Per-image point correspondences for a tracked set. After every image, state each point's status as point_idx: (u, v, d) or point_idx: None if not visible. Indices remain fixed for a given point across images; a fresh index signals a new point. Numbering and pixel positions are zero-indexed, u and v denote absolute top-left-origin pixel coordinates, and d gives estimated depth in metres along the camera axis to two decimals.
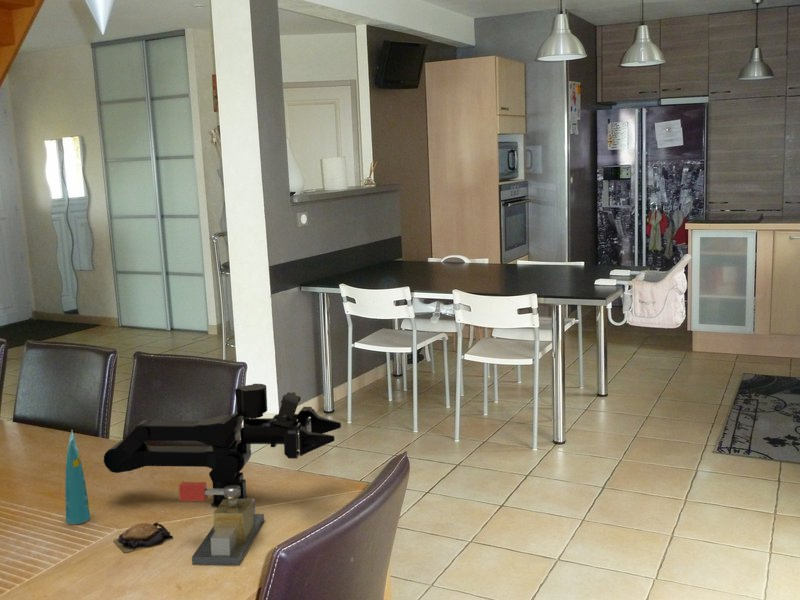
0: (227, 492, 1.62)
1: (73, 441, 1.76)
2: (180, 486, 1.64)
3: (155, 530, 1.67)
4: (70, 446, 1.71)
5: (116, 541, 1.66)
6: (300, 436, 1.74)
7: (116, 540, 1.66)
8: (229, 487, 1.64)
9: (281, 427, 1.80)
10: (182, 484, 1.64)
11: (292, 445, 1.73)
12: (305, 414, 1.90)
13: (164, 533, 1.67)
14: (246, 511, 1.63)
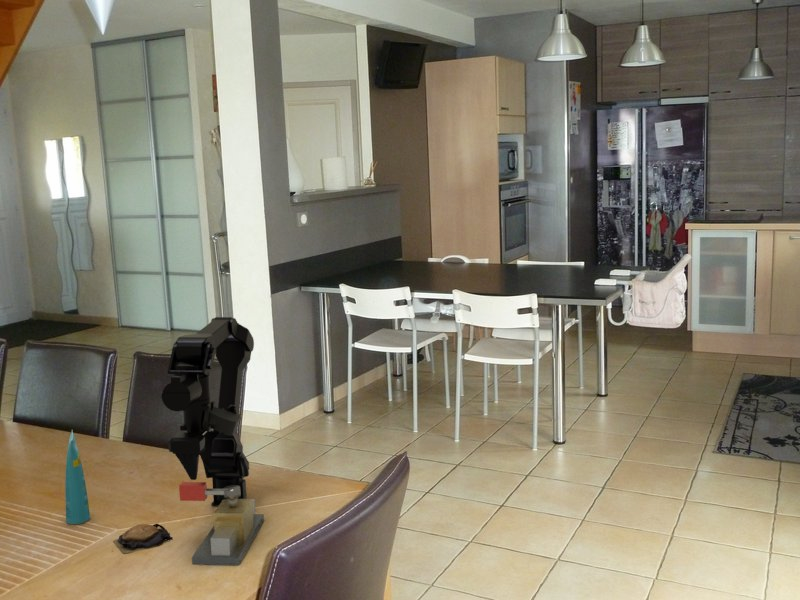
0: (227, 492, 1.62)
1: (73, 441, 1.76)
2: (180, 486, 1.64)
3: (155, 531, 1.66)
4: (70, 446, 1.71)
5: (116, 542, 1.66)
6: (194, 453, 1.59)
7: (116, 541, 1.66)
8: (229, 487, 1.64)
9: (201, 418, 1.64)
10: (182, 484, 1.64)
11: (183, 448, 1.58)
12: None
13: (164, 534, 1.66)
14: (246, 511, 1.63)
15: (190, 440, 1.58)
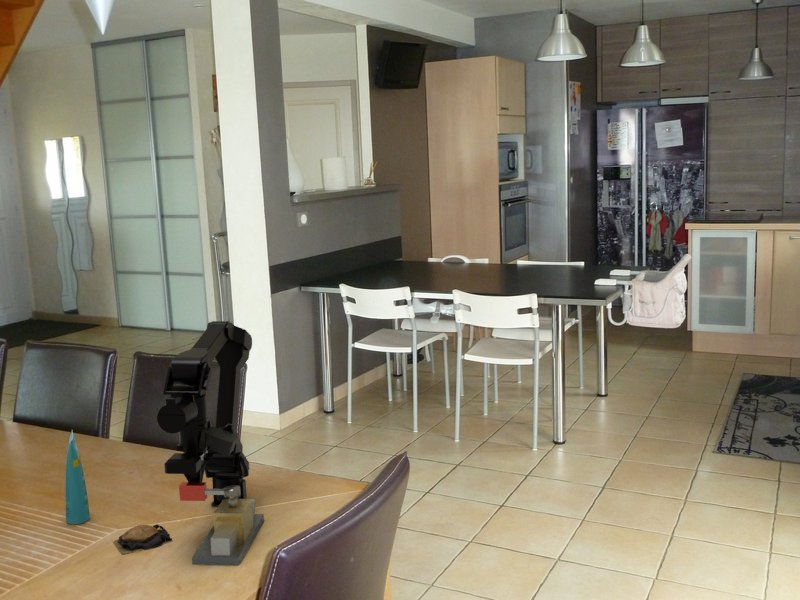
0: (227, 492, 1.62)
1: (73, 441, 1.76)
2: (180, 486, 1.64)
3: (154, 532, 1.66)
4: (70, 446, 1.71)
5: (116, 542, 1.66)
6: None
7: (116, 541, 1.66)
8: (229, 487, 1.64)
9: (198, 438, 1.63)
10: (182, 484, 1.64)
11: (179, 469, 1.57)
12: None
13: (163, 535, 1.66)
14: (246, 511, 1.63)
15: (186, 462, 1.57)
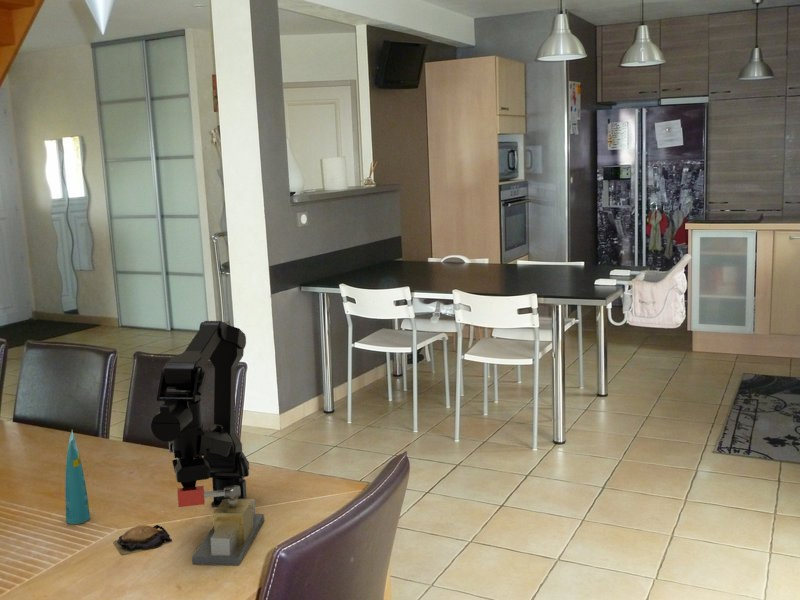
0: (230, 492, 1.62)
1: (73, 441, 1.76)
2: (178, 492, 1.60)
3: (154, 533, 1.66)
4: (70, 446, 1.71)
5: (115, 542, 1.66)
6: None
7: (116, 541, 1.66)
8: (228, 487, 1.64)
9: (197, 443, 1.60)
10: (180, 490, 1.61)
11: (194, 476, 1.54)
12: None
13: (163, 536, 1.65)
14: (246, 511, 1.63)
15: (201, 468, 1.54)
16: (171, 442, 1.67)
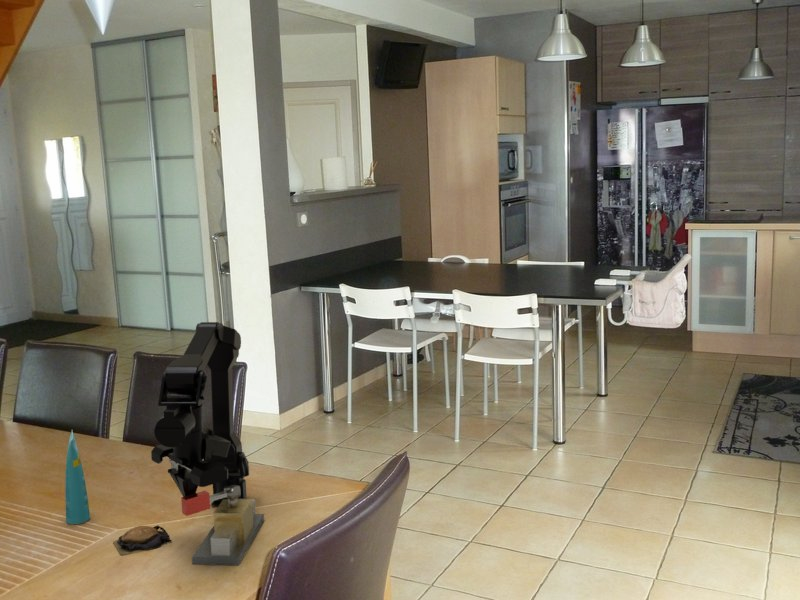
0: (234, 491, 1.62)
1: (73, 441, 1.76)
2: (186, 500, 1.56)
3: (154, 533, 1.65)
4: (70, 446, 1.71)
5: (115, 543, 1.65)
6: None
7: (115, 542, 1.66)
8: (228, 488, 1.64)
9: (202, 447, 1.58)
10: (186, 498, 1.57)
11: (215, 479, 1.53)
12: None
13: (162, 537, 1.65)
14: (246, 511, 1.63)
15: (221, 469, 1.53)
16: (159, 453, 1.61)
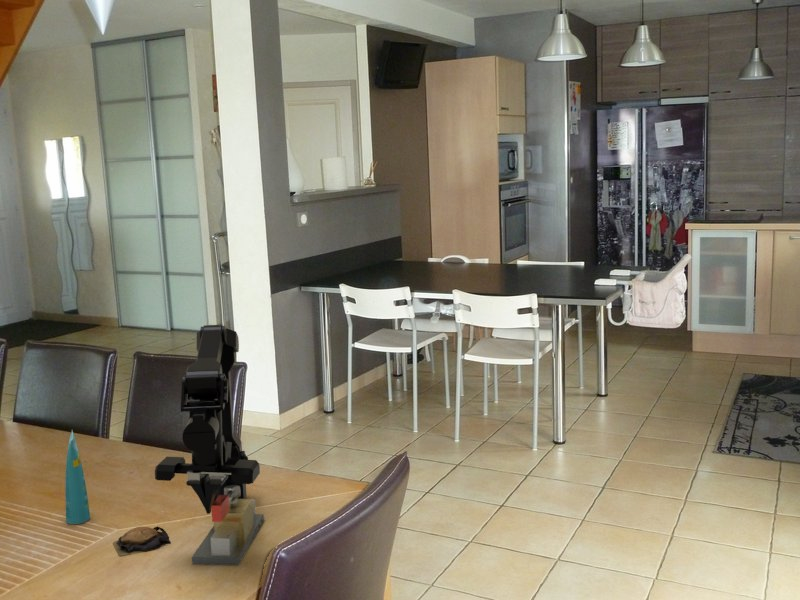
0: (239, 490, 1.63)
1: (73, 441, 1.76)
2: (221, 506, 1.54)
3: (153, 534, 1.65)
4: (70, 446, 1.71)
5: (115, 543, 1.65)
6: (227, 477, 1.57)
7: (115, 542, 1.66)
8: (229, 489, 1.63)
9: None
10: (218, 504, 1.54)
11: (256, 474, 1.54)
12: None
13: (162, 538, 1.65)
14: (246, 511, 1.63)
15: (257, 463, 1.56)
16: (170, 468, 1.53)
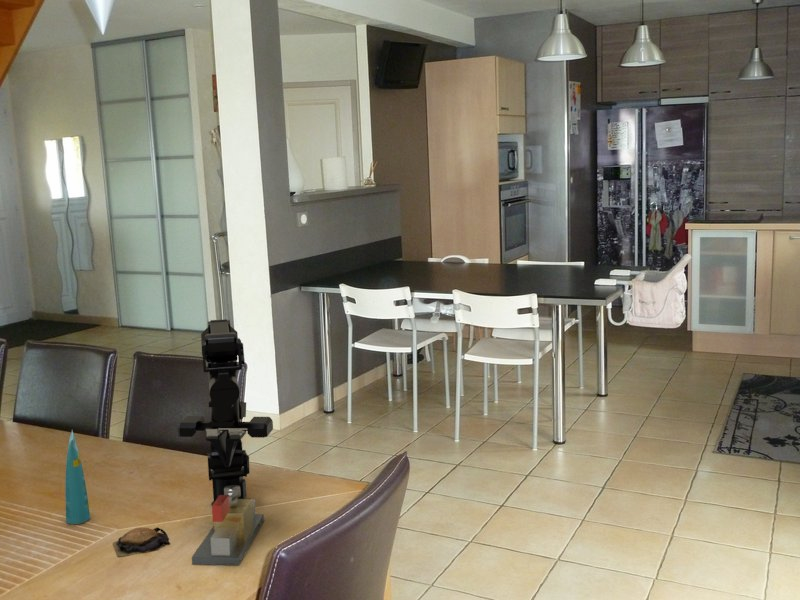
0: (239, 490, 1.63)
1: (73, 441, 1.76)
2: (221, 506, 1.54)
3: (152, 535, 1.64)
4: (70, 446, 1.71)
5: (115, 544, 1.65)
6: (245, 433, 1.72)
7: (115, 543, 1.65)
8: (229, 489, 1.63)
9: None
10: (219, 504, 1.54)
11: (270, 428, 1.69)
12: None
13: (161, 539, 1.64)
14: (246, 511, 1.63)
15: (270, 419, 1.71)
16: (192, 426, 1.68)
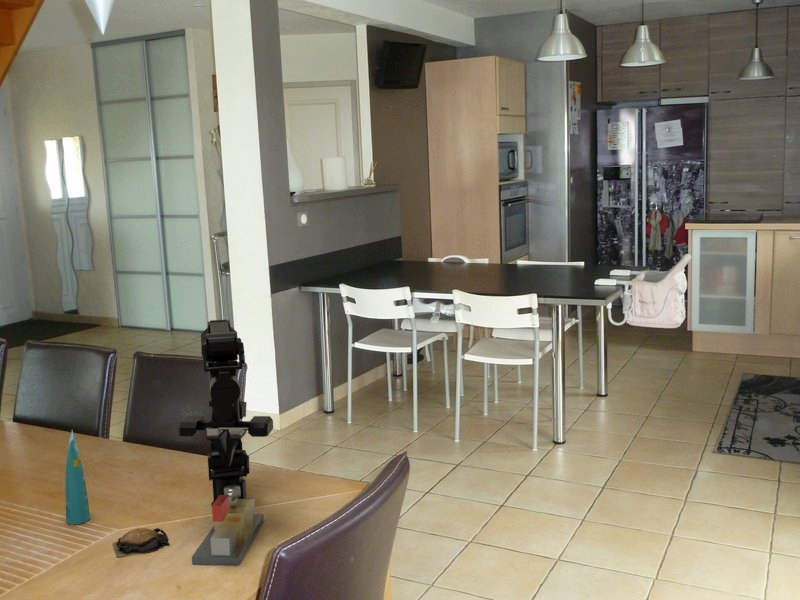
0: (239, 490, 1.63)
1: (73, 441, 1.76)
2: (221, 506, 1.54)
3: (152, 536, 1.64)
4: (70, 446, 1.71)
5: (114, 544, 1.65)
6: (245, 432, 1.72)
7: (115, 543, 1.65)
8: (229, 489, 1.63)
9: None
10: (219, 504, 1.54)
11: (270, 428, 1.70)
12: None
13: (160, 540, 1.64)
14: (246, 511, 1.63)
15: (270, 419, 1.71)
16: (192, 425, 1.68)
